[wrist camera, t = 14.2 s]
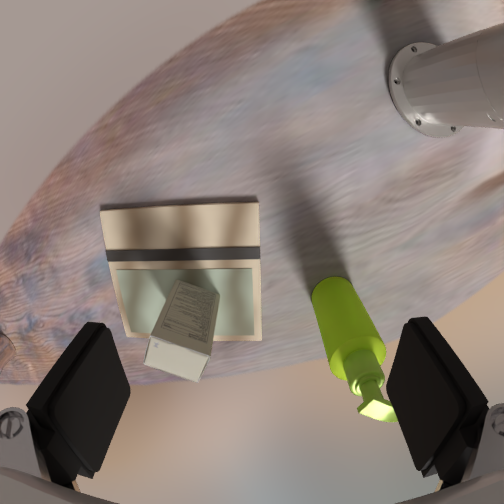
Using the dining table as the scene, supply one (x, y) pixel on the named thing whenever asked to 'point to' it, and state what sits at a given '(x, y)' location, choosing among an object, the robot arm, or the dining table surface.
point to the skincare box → (184, 332)
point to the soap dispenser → (352, 344)
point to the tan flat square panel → (186, 262)
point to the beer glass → (6, 351)
